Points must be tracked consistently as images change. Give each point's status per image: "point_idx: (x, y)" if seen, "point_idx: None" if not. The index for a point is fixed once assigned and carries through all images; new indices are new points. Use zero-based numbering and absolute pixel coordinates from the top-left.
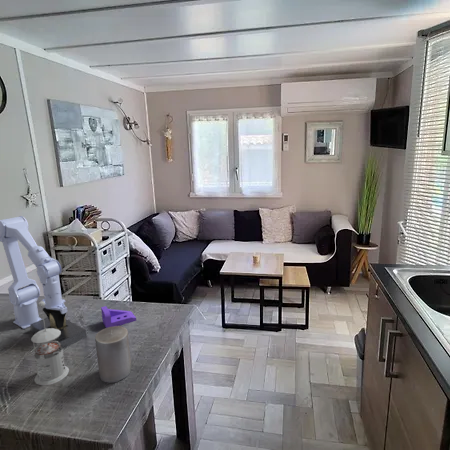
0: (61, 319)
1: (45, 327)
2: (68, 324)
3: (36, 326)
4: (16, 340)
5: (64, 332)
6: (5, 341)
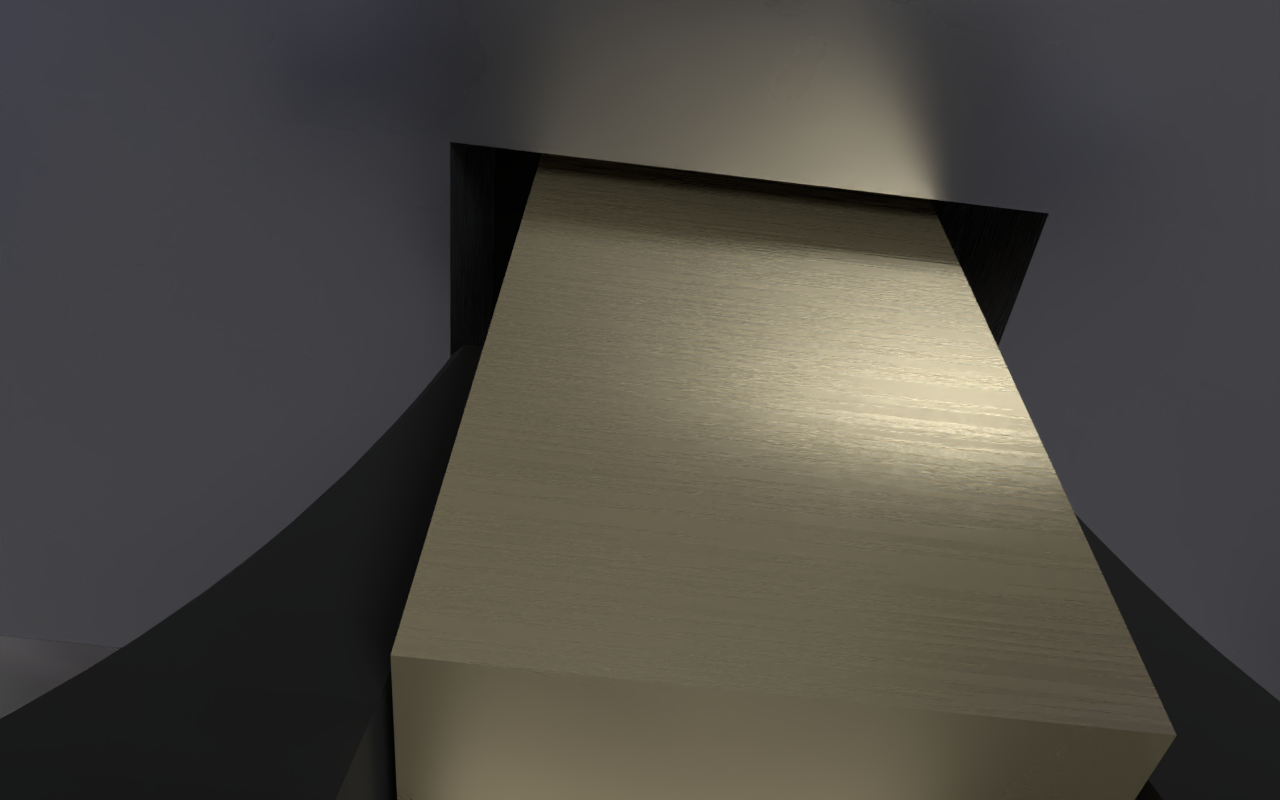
0: None
1: None
2: (964, 135)
3: (112, 615)
4: None
5: (1233, 518)
6: None
